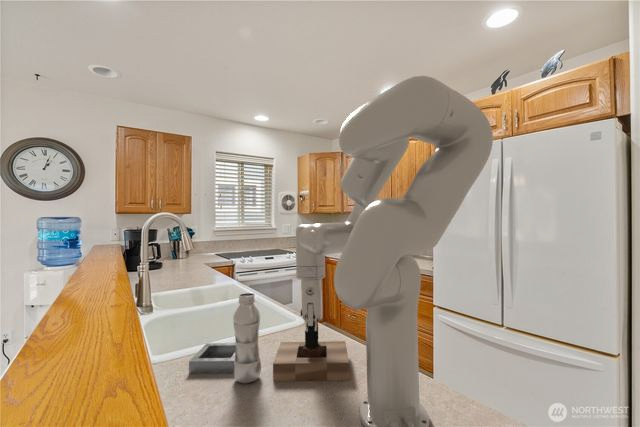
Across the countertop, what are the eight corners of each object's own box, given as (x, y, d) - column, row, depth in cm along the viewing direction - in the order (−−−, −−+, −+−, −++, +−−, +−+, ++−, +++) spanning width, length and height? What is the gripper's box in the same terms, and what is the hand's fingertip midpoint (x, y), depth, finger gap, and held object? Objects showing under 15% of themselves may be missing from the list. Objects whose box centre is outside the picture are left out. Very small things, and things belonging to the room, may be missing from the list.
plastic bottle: (243, 391, 62) (242, 300, 63) (227, 379, 66) (227, 295, 67) (267, 378, 67) (266, 294, 67) (251, 369, 71) (250, 290, 72)
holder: (234, 373, 69) (234, 360, 69) (189, 373, 69) (189, 361, 70) (246, 353, 80) (246, 342, 80) (206, 354, 80) (206, 343, 80)
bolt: (319, 374, 68) (318, 312, 69) (299, 372, 69) (298, 311, 70) (324, 362, 74) (323, 305, 74) (305, 361, 75) (304, 304, 75)
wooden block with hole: (349, 380, 65) (349, 362, 66) (273, 381, 66) (273, 363, 66) (345, 355, 77) (345, 341, 77) (280, 356, 78) (280, 342, 78)
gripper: (325, 277, 64) (327, 358, 63) (324, 266, 81) (326, 331, 80) (292, 278, 64) (294, 359, 63) (299, 267, 81) (300, 331, 80)
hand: (312, 342), depth 72 cm, fingers closed on bolt, 3 cm apart
